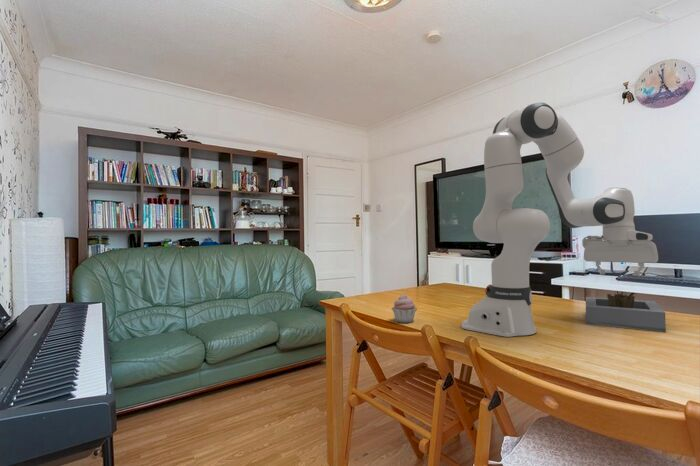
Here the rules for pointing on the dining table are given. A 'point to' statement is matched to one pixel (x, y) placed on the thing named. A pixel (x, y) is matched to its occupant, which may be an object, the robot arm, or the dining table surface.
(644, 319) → the gray square tray
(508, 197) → the robot arm
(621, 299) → the wire cup brush
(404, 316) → the cupcake
